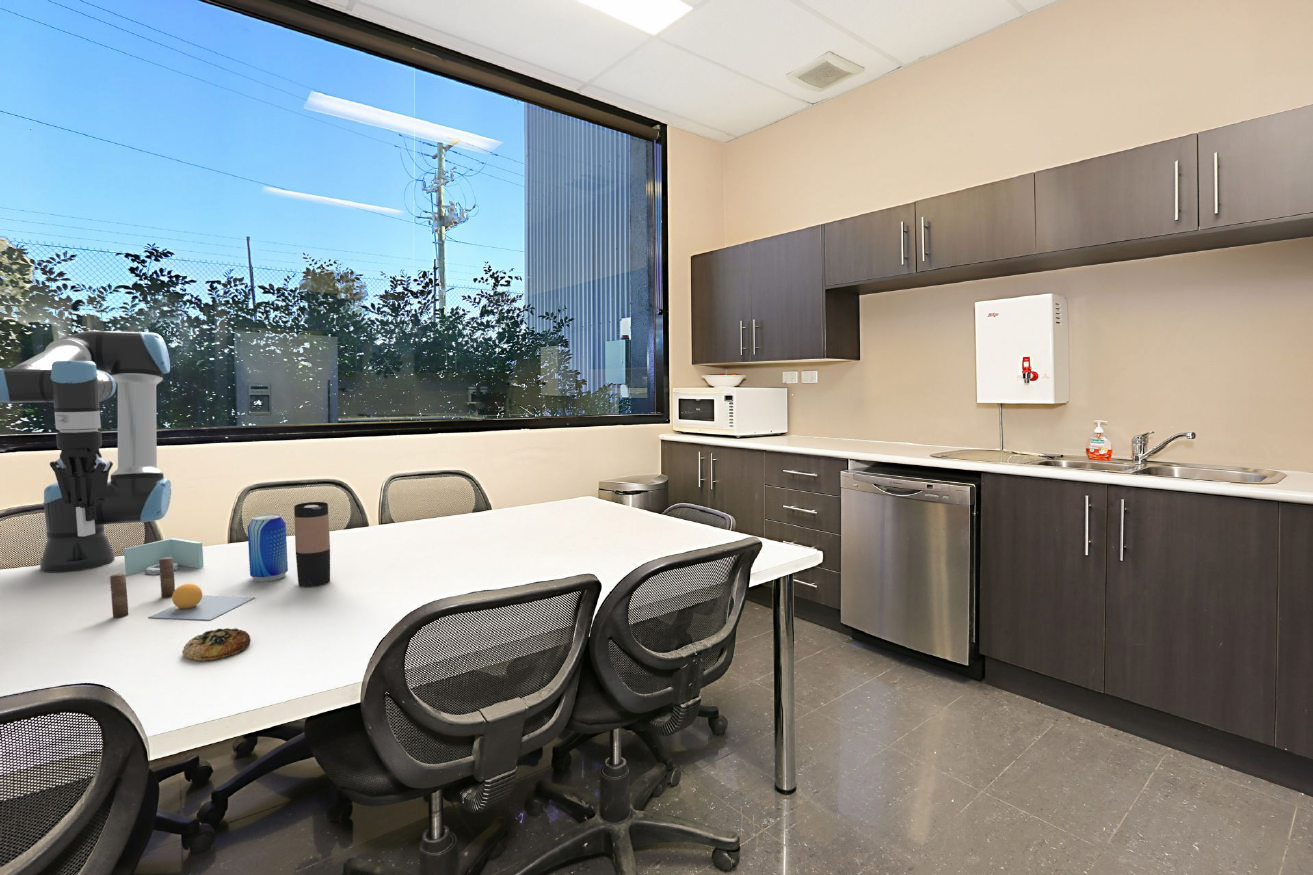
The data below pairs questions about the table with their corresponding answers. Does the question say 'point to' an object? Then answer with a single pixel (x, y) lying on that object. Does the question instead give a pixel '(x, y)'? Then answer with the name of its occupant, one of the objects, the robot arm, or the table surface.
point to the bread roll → (216, 644)
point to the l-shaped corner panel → (163, 555)
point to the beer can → (267, 547)
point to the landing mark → (204, 608)
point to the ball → (187, 596)
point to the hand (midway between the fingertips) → (86, 534)
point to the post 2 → (167, 577)
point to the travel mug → (312, 543)
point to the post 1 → (119, 595)
